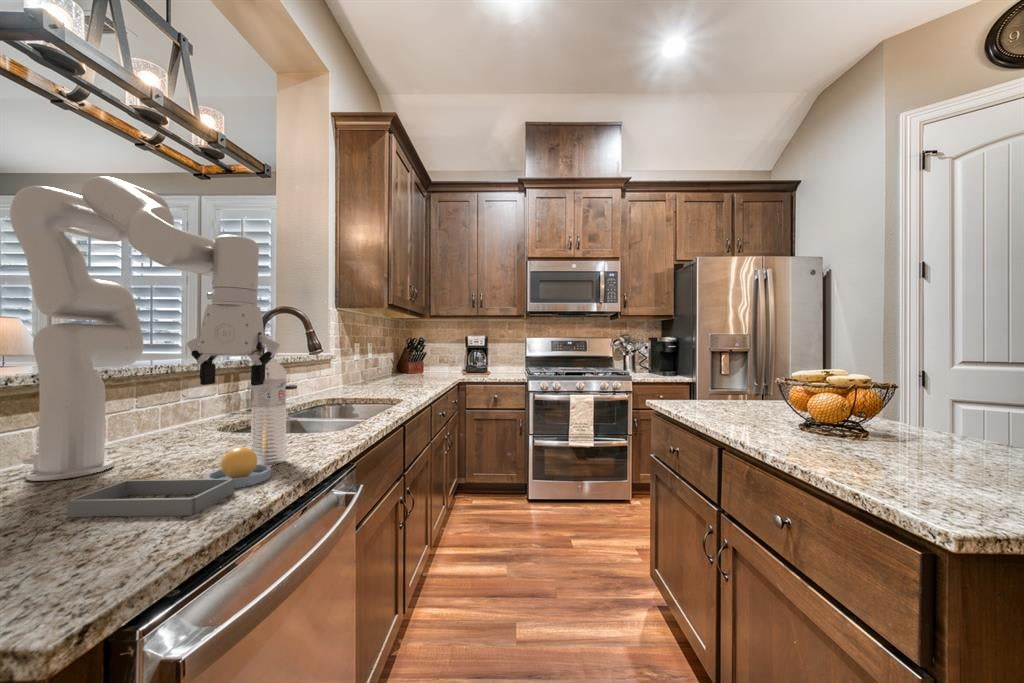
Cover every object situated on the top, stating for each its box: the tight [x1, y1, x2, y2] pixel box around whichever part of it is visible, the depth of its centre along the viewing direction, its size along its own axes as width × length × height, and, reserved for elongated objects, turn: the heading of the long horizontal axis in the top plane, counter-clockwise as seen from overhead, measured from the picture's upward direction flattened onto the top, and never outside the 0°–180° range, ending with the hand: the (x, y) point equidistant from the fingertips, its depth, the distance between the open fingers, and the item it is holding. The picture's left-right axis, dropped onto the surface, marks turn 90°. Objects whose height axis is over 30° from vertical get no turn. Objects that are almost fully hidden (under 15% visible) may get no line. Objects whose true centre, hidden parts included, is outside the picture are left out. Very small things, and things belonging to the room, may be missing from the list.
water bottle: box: [250, 356, 287, 466], centre depth 92 cm, size 7×7×25 cm
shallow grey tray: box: [66, 478, 234, 518], centre depth 68 cm, size 19×10×2 cm, turn 92°
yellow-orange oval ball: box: [220, 446, 257, 479], centre depth 80 cm, size 6×6×6 cm
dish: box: [204, 464, 272, 490], centre depth 80 cm, size 11×11×2 cm
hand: (232, 384), depth 81 cm, fingers open, 9 cm apart
